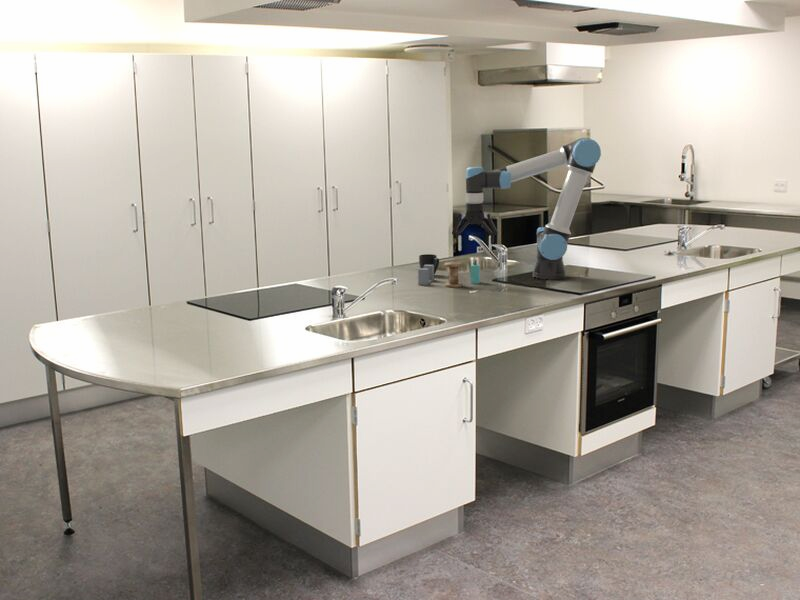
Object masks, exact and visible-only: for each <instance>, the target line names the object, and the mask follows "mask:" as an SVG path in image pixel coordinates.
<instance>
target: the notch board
mask: <svg viewBox="0 0 800 600" xmlns="http://www.w3.org/2000/svg"><path fill="white" fill-rule="evenodd" d="M417 273H418V274H417V275H418V278H417V279H418V280H417V281H418V282H417V283H418V284H417V285H418V286H429V284H430V283H431V284H432V282H433V281H435V274H434V265H424V268H420V267H419V268H418V269H417Z"/></svg>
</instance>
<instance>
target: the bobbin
mask: <svg viewBox="0 0 800 600" xmlns="http://www.w3.org/2000/svg"><path fill="white" fill-rule="evenodd" d="M463 265H464V263H463V262H461V261H459V262H458V261H449V262H444V267H447V268H448V272H449V273H448V276H449V277H448V282H445V283H444V287H445V288H462V287H464V283H463V282H459V267H463Z"/></svg>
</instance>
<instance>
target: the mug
mask: <svg viewBox="0 0 800 600" xmlns="http://www.w3.org/2000/svg"><path fill="white" fill-rule="evenodd" d="M418 263H419V269H420V268H424V265H434V275H435V274H436V272H437V270H438V268H439V265H440V259H439V258H437V254H433V253H432V254H429V253H428V254H426V253H425V254H420V255H418Z"/></svg>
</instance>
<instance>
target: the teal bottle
mask: <svg viewBox="0 0 800 600" xmlns="http://www.w3.org/2000/svg"><path fill="white" fill-rule="evenodd" d="M477 263H478V262H477V259H474V260H473V264H471V265H470V284H473V285H474V284H477V285H479V284H480V283H481V264H477Z"/></svg>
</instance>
